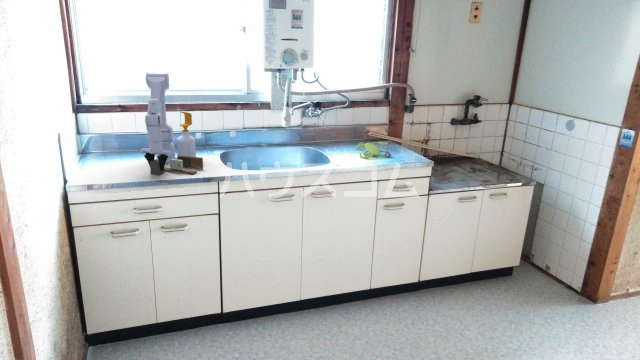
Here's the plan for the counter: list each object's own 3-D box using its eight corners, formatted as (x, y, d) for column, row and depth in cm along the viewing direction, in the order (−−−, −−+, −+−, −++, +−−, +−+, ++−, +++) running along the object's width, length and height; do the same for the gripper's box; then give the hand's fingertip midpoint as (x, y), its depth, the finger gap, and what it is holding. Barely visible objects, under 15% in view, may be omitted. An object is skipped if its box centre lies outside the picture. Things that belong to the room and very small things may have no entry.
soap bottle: (174, 159, 234) (171, 111, 226) (185, 155, 242) (182, 109, 235) (188, 161, 231) (186, 113, 223) (199, 157, 239) (197, 110, 231)
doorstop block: (156, 171, 213) (155, 159, 211) (164, 172, 212) (163, 160, 210) (150, 174, 209) (149, 161, 207) (159, 175, 208) (158, 162, 206)
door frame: (169, 165, 224) (169, 154, 223) (204, 168, 220) (203, 157, 218) (157, 170, 215) (157, 159, 213) (193, 174, 211) (193, 163, 209)
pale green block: (171, 168, 215) (171, 158, 214) (183, 169, 214) (182, 160, 212) (169, 169, 214) (168, 159, 212) (181, 170, 212) (180, 161, 211)
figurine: (385, 148, 274) (386, 139, 272) (394, 160, 249) (395, 150, 247) (354, 148, 273) (355, 138, 271) (360, 159, 248) (361, 149, 246)
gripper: (135, 140, 204) (138, 170, 208) (164, 143, 201) (166, 173, 205) (145, 137, 211) (147, 166, 215) (173, 140, 207) (175, 169, 211)
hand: (157, 169), depth 210 cm, fingers closed on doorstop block, 4 cm apart
